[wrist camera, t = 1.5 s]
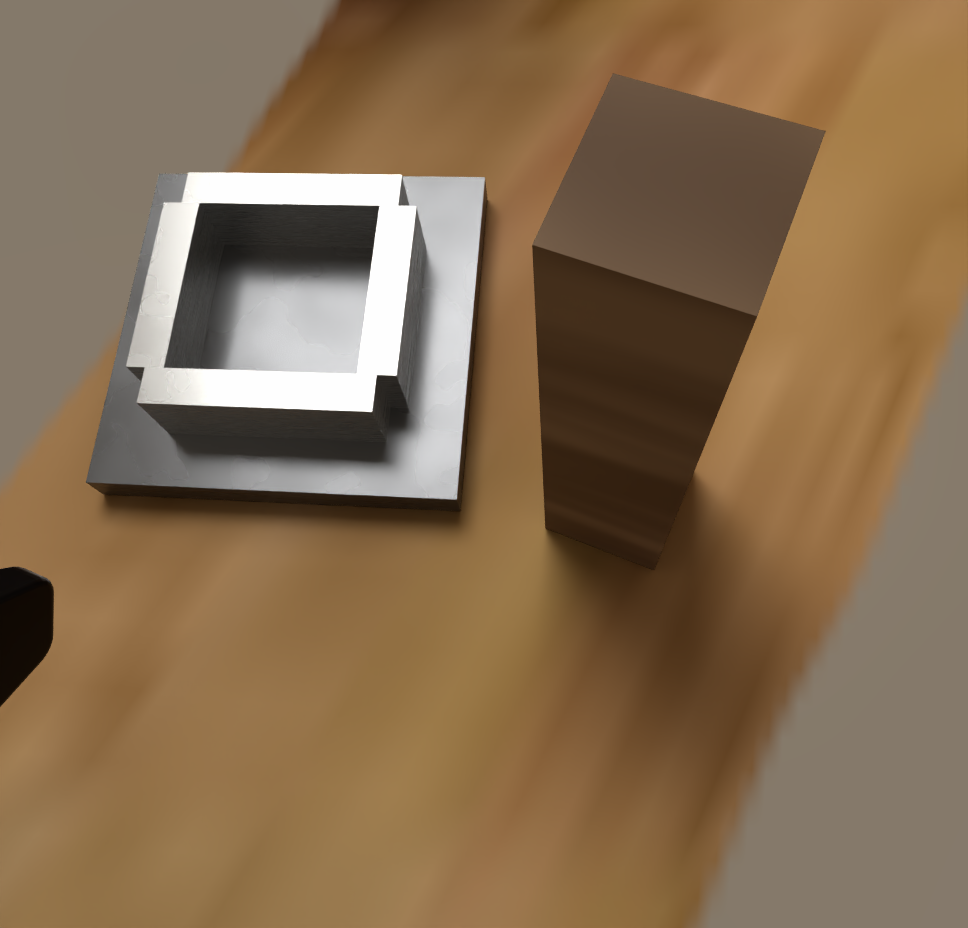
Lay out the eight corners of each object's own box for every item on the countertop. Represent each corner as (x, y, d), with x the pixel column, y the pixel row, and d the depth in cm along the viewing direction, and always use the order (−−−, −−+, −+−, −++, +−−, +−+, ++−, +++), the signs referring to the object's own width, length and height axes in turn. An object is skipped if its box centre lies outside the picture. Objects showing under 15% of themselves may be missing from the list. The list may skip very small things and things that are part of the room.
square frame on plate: (460, 511, 24) (447, 472, 22) (103, 494, 25) (46, 455, 23) (487, 198, 28) (479, 130, 25) (172, 194, 29) (130, 128, 26)
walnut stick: (653, 570, 23) (757, 316, 11) (545, 528, 24) (532, 244, 12) (692, 468, 24) (825, 131, 12) (586, 430, 25) (613, 73, 13)
